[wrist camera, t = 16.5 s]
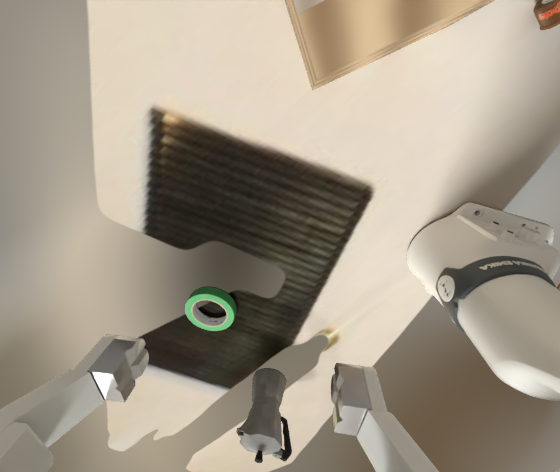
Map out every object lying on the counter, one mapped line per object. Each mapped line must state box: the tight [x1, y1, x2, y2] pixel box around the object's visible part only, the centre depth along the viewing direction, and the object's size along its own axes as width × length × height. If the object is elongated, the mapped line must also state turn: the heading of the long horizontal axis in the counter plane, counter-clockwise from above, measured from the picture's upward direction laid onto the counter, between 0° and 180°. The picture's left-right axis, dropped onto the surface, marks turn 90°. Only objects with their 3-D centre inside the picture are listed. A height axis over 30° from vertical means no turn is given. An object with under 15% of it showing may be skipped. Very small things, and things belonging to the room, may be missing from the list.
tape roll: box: [185, 287, 236, 331], centre depth 55 cm, size 11×11×3 cm
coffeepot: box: [237, 368, 292, 463], centre depth 59 cm, size 15×9×18 cm, turn 49°
